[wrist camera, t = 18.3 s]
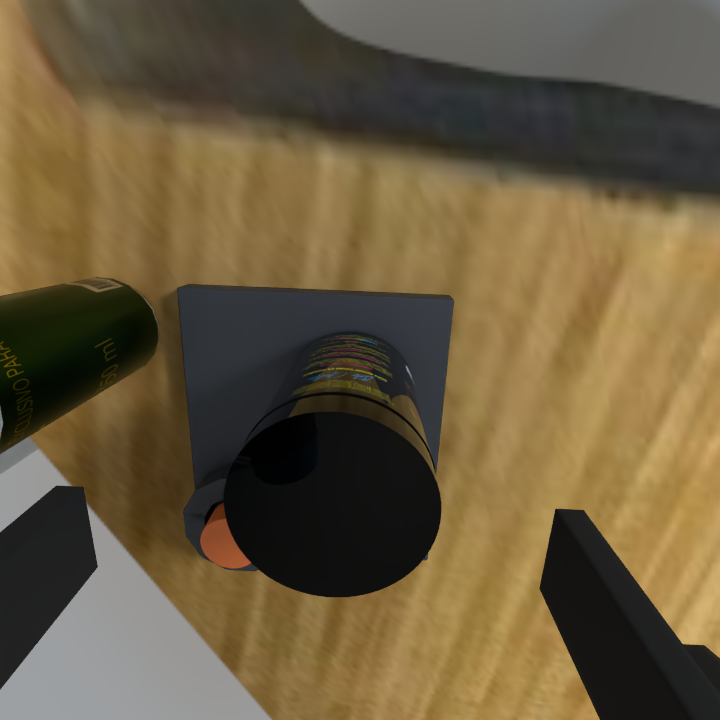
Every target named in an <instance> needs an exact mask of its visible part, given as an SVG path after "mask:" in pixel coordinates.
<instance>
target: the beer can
mask: <svg viewBox="0 0 720 720" xmlns="http://www.w3.org/2000/svg"><path fill="white" fill-rule="evenodd" d="M158 339H159V322H158V320H157V317H156V314H155V311H154V309H153V308H152V306H151V305H150V304H149V302H148V301H147V299H146V298H145V297H144V296H142V295H141V294H140V293H139V292H137V291H136V290H135V289H134V288H132V287H130V286H128V285H126V284H124V283H121V282H119V281H117V280H114V279H108V278H98V277H96V278H91V279H86V280H81V281H76V282H71V283H65V284H60V285H55V286H50V287H45V288H40V289H35V290H29V291H24V292H19V293H14V294H9V295H4V296H0V454H1V453H3V452H4V451H6V450H7V449H9V448H11V447H12V446H14V445H16V444H17V443H19V442H20V441H22V440H24V439H25V438H27V437H29V436H30V435H32V434H34V433H35V432H37V431H38V430H40V429H42V428H43V427H45V426H47V425H48V424H50V423H52V422H53V421H55V420H56V419H58V418H60V417H61V416H63V415H65V414H66V413H68V412H70V411H71V410H73V409H74V408H76V407H78V406H79V405H81V404H83V403H84V402H86V401H87V400H89V399H91V398H92V397H94V396H96V395H97V394H99V393H101V392H102V391H104V390H105V389H107V388H109V387H110V386H112V385H114V384H115V383H117V382H119V381H120V380H122V379H123V378H125V377H127V376H128V375H130V374H132V373H133V372H135V371H137V370H138V369H140V368H141V367H143V366H145V365H146V364H147V363H148V361H149V360H150V359H151V357H152V356H153V355H154V353H155V349H156V346H157V343H158Z"/></svg>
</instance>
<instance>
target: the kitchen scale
mask: <svg viewBox="0 0 720 720" xmlns="http://www.w3.org/2000/svg"><path fill="white" fill-rule="evenodd" d="M177 293H178V305H179V316H180V327H181V338H182V349H183V360H184V371H185V382H186V393H187V404H188V415H189V427H190V438H191V449H192V460H193V471H194V482H195V492H194V494H193V495H192V497H191V499H190V500H189V502H188V504H187V505H186V507H185V509H184V512H183V514H184V524H185V534H186V537H187V538H188V540H189V541H190V542H191V544H192V545H193V546H194V547H195V549H196V550H197V551H198V553H199V554H200V555H201V556H202V557H203V558H205V559H207V560H209V561H211V560H210V559H209V558H208V557H207V556H206V555H205V553H204V552H203V550H202V547H201V543H200V538H201V534H202V531H203V529H204V528H205V526H206V524H207V522H208V521H209V519H210V517H211V515H212V513H213V512H214V510H215V509H216V507H217V506H218V505H220V504H221V503H223V502H224V489H225V484H226V479H227V476H228V473H229V471H230V468H231V466H232V464H233V462H234V460H235V458H236V457H237V455H238V453H239V452H240V450H241V448H242V447H243V444H244V442H245V440H246V439H247V437H248V435H249V433H250V432H251V430H252V429H253V427H254V426H255V425H256V424H257V422H258V421H259V420H260V419H261V417H262V415H263V414H264V412H265V410H266V408H267V407H268V405H269V403H270V402H271V400H272V398H273V397H274V395H275V393H276V392H277V390H278V388H279V387H280V385H281V383H282V382H283V380H284V378H285V377H286V375H287V373H288V372H289V370H290V368H291V367H292V365H293V363H294V362H295V360H296V359H297V357H298V356H299V354H300V353H301V352H302V351H303V350H304V349H305V348H306V347H307V346H308V345H310V344H311V343H312V342H314V341H315V340H317V339H319V338H321V337H323V336H326V335H329V334H332V333H336V332H343V331H356V332H363V333H367V334H371V335H373V336H376V337H378V338H380V339H382V340H384V341H386V342H387V343H389V344H390V345H391V346H392V347H394V348H395V349H396V350H397V351H398V352H399V353H400V354H401V356H402V357H403V358H404V360H405V361H406V363H407V365H408V367H409V369H410V371H411V374H412V377H413V381H414V386H415V390H416V394H417V399H418V403H419V408H420V412H421V417H422V421H423V426H424V430H425V434H426V439H427V443H428V447H429V449H430V452H431V455H432V458H433V462H434V466H435V472H436V471H437V461H438V451H439V441H440V432H441V422H442V412H443V402H444V393H445V383H446V373H447V363H448V353H449V344H450V334H451V324H452V314H453V305H454V300H453V299H452V298H451V297H450V296H449V295H433V294H410V293H386V292H362V291H339V290H315V289H292V288H268V287H244V286H221V285H197V284H188V285H184V286H181V287H178V288H177ZM427 559H428V553H427V555H426V556H425V558H424V559H423V560H427ZM211 562H212V561H211ZM213 563H214V562H213ZM220 567H222V566H220ZM222 568H224V569H228V570H243V571H256V570H259V569H258V568H256V567H255V566H254V565H253V564H252V563H251V564H249V565H247V566H245V567H241V568H226V567H222Z"/></svg>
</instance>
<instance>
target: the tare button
mask: <svg viewBox="0 0 720 720" xmlns="http://www.w3.org/2000/svg"><path fill="white" fill-rule="evenodd" d="M200 543H201V547H202V550H203V552H204V553H205V555H206V556H207V557H208V558H209V559H210V560H211V561H212V562H214V563H215V564H217V565H219V566H222V567H226V568H241V567H245V566H247V565H249V564H251V562H250V561H249V560H248V559H247V558H246V556H245V555H244V554H243V553H242V551H241V550H240V549H239V547H238V546H237V544H236V542H235V541H234V539H233V537H232V535H231V532H230V530H229V527H228V524H227V521H226V517H225V510H224V502H223V503H221V504H220V505H218V506H217V507H216V509H215V510H214V512H213V513H212V515H211V517H210V519H209V521H208V522H207V524H206V526H205V528H204V529H203V531H202V534H201V538H200Z"/></svg>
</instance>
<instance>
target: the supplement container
mask: <svg viewBox="0 0 720 720" xmlns="http://www.w3.org/2000/svg"><path fill="white" fill-rule="evenodd" d="M224 510H225V517H226V521H227V524H228V527H229V530H230V532H231V535H232V537H233V539H234V541H235V542H236V544H237V546H238V547H239V549H240V550H241V551H242V553H243V554H244V555H245V556H246V558H247V559H248V560H249V561H250V562H251V563H252V564H253V565H254V566H255V567H256V568H258V569H259V570H260V571H261V572H262V573H264V574H265V575H267V576H268V577H270V578H271V579H273V580H275V581H276V582H278V583H280V584H282V585H284V586H286V587H289V588H291V589H294V590H297V591H300V592H303V593H307V594H311V595H316V596H324V597H351V596H359V595H364V594H368V593H372V592H375V591H378V590H381V589H383V588H386V587H388V586H390V585H392V584H394V583H396V582H397V581H399V580H401V579H402V578H404V577H405V576H406V575H408V574H409V573H410V572H411V571H413V570H414V569H415V568H416V567H417V566H418V565H419V564H420V563H421V561H422V560H423V559H424V558H425V556H426V555H427V553H428V552H429V550H430V549H431V547H432V545H433V543H434V541H435V538H436V536H437V533H438V530H439V525H440V520H441V498H440V492H439V487H438V483H437V479H436V472H435V466H434V462H433V458H432V455H431V452H430V449H429V447H428V443H427V439H426V434H425V430H424V426H423V421H422V417H421V412H420V408H419V403H418V399H417V394H416V390H415V386H414V381H413V377H412V374H411V371H410V369H409V367H408V365H407V363H406V361H405V360H404V358H403V357H402V356H401V354H400V353H399V352H398V351H397V350H396V349H395V348H394V347H392V346H391V345H390V344H389V343H387V342H386V341H384V340H382V339H380V338H378V337H376V336H373V335H371V334H367V333H363V332H356V331H343V332H336V333H332V334H329V335H326V336H323V337H321V338H319V339H317V340H315V341H314V342H312V343H311V344H310V345H308V346H307V347H306V348H305V349H304V350H303V351H302V352H301V353H300V354H299V356H298V357H297V359H296V360H295V362H294V363H293V365H292V367H291V368H290V370H289V372H288V373H287V375H286V377H285V378H284V380H283V382H282V383H281V385H280V387H279V388H278V390H277V392H276V393H275V395H274V397H273V398H272V400H271V402H270V403H269V405H268V407H267V408H266V410H265V412H264V414H263V415H262V417H261V419H260V420H259V421H258V422H257V424H256V425H255V426H254V427H253V429H252V430H251V432H250V433H249V435H248V437H247V439H246V440H245V442H244V444H243V447H242V448H241V450H240V452H239V453H238V455H237V457H236V458H235V460H234V462H233V464H232V466H231V468H230V471H229V473H228V476H227V479H226V484H225V489H224Z"/></svg>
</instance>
